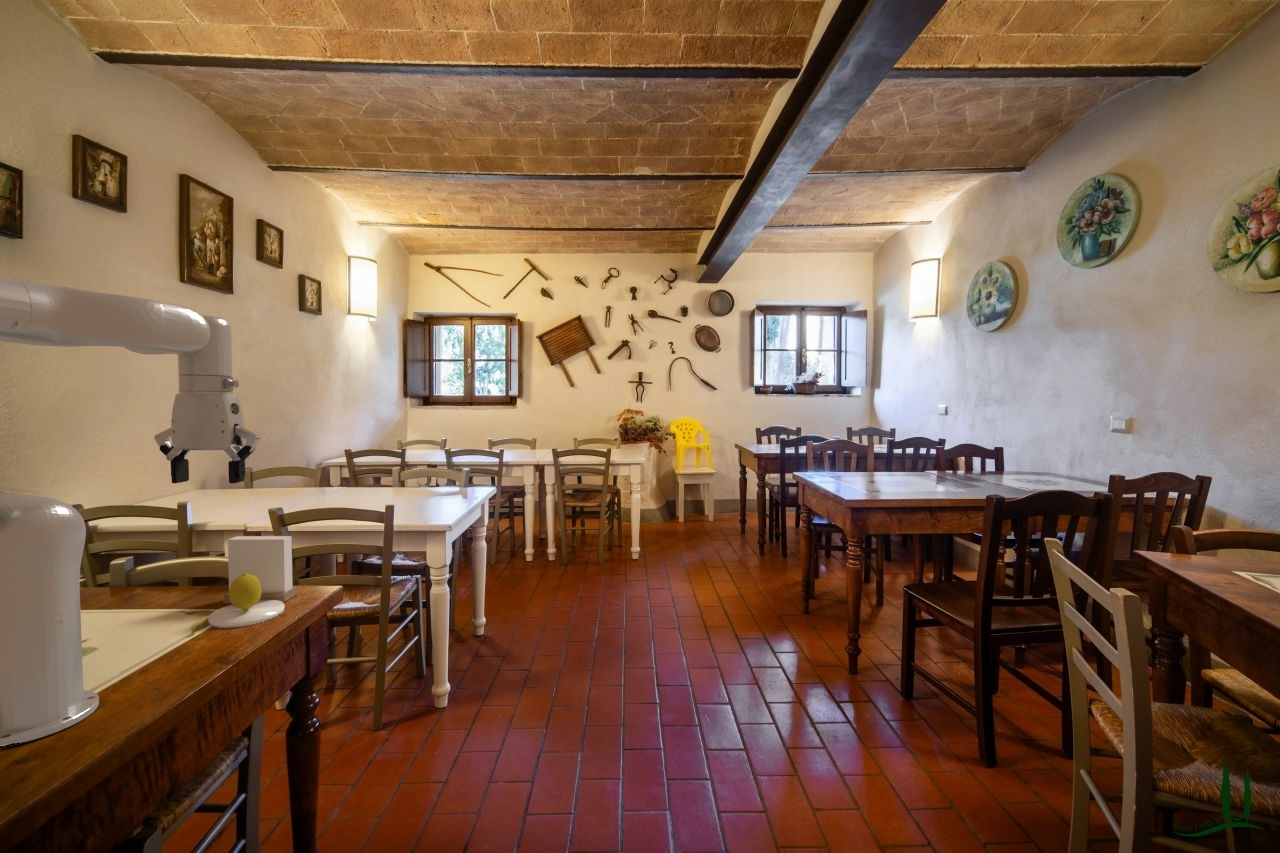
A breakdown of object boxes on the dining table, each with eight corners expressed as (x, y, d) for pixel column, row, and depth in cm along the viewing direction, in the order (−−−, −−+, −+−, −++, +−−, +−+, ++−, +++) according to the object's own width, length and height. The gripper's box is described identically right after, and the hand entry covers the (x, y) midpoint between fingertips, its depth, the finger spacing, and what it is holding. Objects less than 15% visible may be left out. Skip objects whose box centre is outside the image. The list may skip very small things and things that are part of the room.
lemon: (249, 616, 113) (247, 577, 112) (222, 615, 113) (221, 577, 112) (268, 606, 118) (267, 569, 118) (243, 605, 118) (241, 568, 118)
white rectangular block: (284, 603, 123) (283, 540, 122) (223, 603, 122) (222, 540, 122) (297, 595, 128) (296, 535, 127) (239, 595, 127) (237, 535, 127)
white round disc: (260, 627, 110) (260, 622, 110) (191, 628, 109) (191, 623, 109) (297, 603, 123) (297, 599, 123) (236, 604, 122) (236, 599, 122)
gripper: (269, 387, 102) (271, 479, 103) (172, 386, 102) (174, 479, 102) (242, 386, 95) (245, 485, 96) (137, 385, 94) (140, 485, 95)
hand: (208, 482), depth 99 cm, fingers open, 9 cm apart
